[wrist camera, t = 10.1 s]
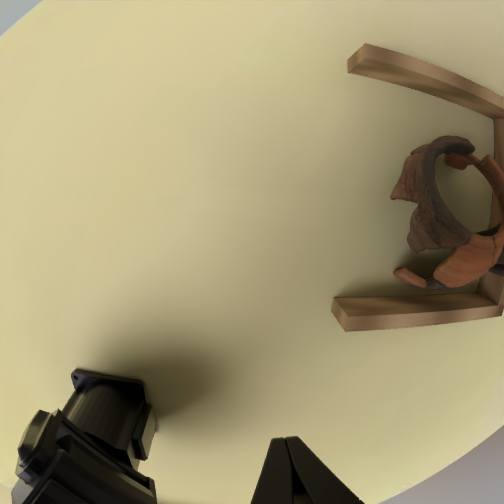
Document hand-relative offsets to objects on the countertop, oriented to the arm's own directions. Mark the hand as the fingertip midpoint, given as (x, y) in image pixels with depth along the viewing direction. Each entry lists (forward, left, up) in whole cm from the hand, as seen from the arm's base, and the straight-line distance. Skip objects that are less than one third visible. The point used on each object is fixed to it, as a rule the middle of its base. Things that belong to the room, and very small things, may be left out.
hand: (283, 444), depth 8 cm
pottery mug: (+13, +6, -12) cm, 19 cm away
